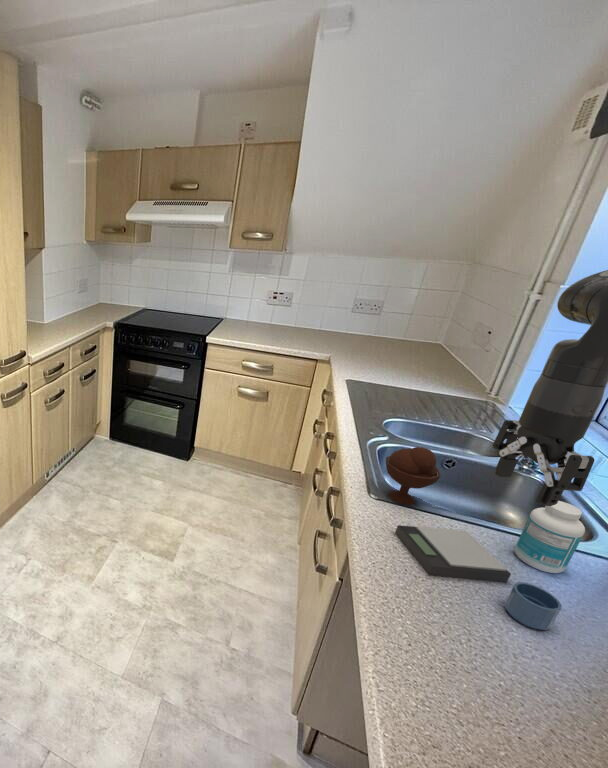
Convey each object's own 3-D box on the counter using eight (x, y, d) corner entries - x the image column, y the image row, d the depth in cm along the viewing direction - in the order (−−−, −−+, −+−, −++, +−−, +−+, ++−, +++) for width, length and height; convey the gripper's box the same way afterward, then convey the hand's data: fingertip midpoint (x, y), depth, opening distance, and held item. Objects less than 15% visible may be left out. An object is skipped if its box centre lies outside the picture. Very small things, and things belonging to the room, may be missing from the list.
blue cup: (529, 605, 75) (540, 583, 73) (559, 634, 69) (572, 612, 68) (494, 601, 75) (504, 580, 73) (521, 630, 70) (533, 608, 68)
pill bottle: (534, 547, 89) (561, 494, 84) (574, 574, 82) (605, 518, 77) (502, 548, 88) (527, 495, 83) (540, 576, 81) (569, 520, 76)
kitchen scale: (462, 539, 91) (466, 529, 90) (507, 582, 79) (512, 571, 78) (394, 533, 92) (398, 523, 91) (429, 575, 81) (433, 564, 80)
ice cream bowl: (424, 493, 106) (442, 442, 101) (430, 518, 97) (451, 463, 92) (375, 481, 111) (391, 431, 106) (377, 503, 102) (394, 450, 97)
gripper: (635, 426, 60) (585, 517, 65) (546, 390, 73) (511, 469, 79) (578, 422, 60) (534, 513, 66) (500, 387, 74) (469, 466, 79)
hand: (521, 489), depth 72 cm, fingers open, 8 cm apart
